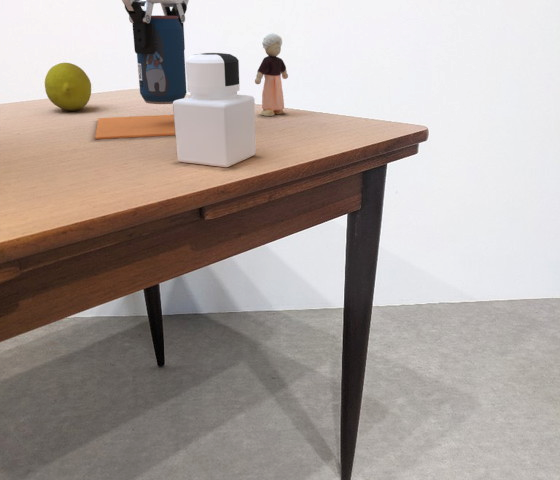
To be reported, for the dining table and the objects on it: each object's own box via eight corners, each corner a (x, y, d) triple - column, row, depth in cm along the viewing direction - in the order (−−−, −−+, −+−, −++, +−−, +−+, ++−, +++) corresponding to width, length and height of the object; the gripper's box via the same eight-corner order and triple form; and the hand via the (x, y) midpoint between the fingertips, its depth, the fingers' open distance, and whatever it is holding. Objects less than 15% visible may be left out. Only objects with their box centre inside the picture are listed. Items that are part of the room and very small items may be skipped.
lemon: (92, 113, 104) (85, 64, 101) (44, 115, 103) (36, 65, 99) (96, 104, 114) (90, 59, 110) (53, 106, 112) (46, 60, 109)
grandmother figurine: (272, 117, 99) (271, 34, 94) (252, 116, 101) (250, 34, 95) (294, 111, 105) (294, 32, 100) (275, 109, 107) (274, 32, 101)
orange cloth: (95, 139, 85) (94, 137, 85) (98, 119, 99) (98, 118, 99) (249, 131, 89) (249, 129, 89) (231, 113, 103) (231, 111, 103)
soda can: (179, 97, 96) (174, 15, 91) (192, 103, 90) (188, 15, 86) (136, 100, 93) (128, 15, 88) (147, 105, 88) (140, 15, 83)
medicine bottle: (208, 150, 78) (202, 50, 73) (256, 155, 75) (254, 52, 70) (176, 162, 72) (167, 55, 67) (227, 168, 69) (222, 57, 64)
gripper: (163, -79, 90) (171, 48, 98) (86, -97, 76) (102, 54, 83) (207, -81, 88) (212, 50, 95) (135, -101, 73) (147, 56, 80)
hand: (160, 51), depth 89 cm, fingers closed on soda can, 7 cm apart
